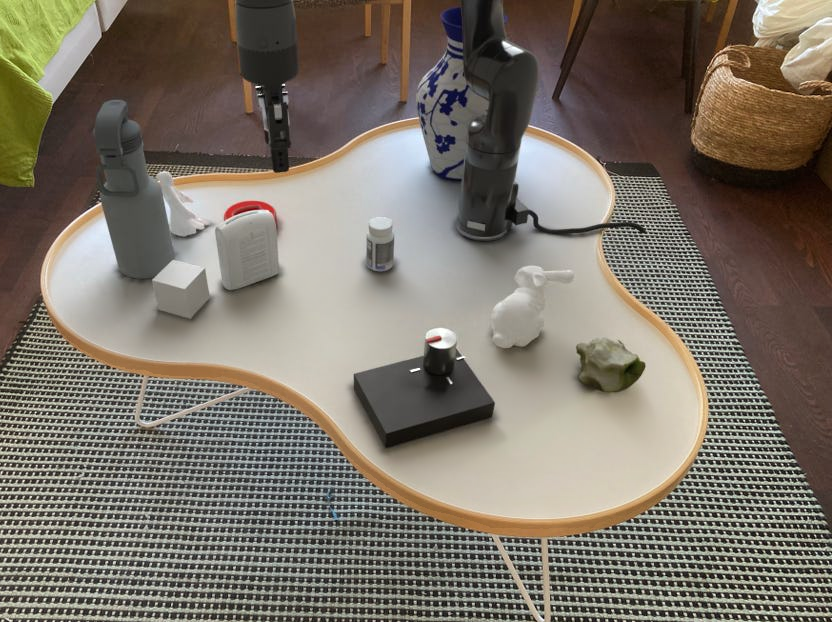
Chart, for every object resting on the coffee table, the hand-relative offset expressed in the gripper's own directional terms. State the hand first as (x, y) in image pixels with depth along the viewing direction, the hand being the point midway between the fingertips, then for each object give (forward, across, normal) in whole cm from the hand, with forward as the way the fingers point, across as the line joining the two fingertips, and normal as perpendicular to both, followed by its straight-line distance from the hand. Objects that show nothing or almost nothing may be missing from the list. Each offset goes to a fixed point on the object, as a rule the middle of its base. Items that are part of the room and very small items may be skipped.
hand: (276, 156), depth 103 cm
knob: (+23, -23, -19) cm, 37 cm away
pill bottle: (+26, +7, -17) cm, 32 cm away
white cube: (+26, +2, +17) cm, 31 cm away
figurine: (+26, +25, +15) cm, 39 cm away
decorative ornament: (+26, +23, +4) cm, 35 cm away
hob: (+26, -27, -15) cm, 40 cm away
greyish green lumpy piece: (+26, -28, -42) cm, 57 cm away
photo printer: (+26, +7, +5) cm, 27 cm away
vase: (+26, +37, -41) cm, 61 cm away
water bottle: (+26, +15, +23) cm, 37 cm away
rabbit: (+26, -15, -34) cm, 46 cm away
